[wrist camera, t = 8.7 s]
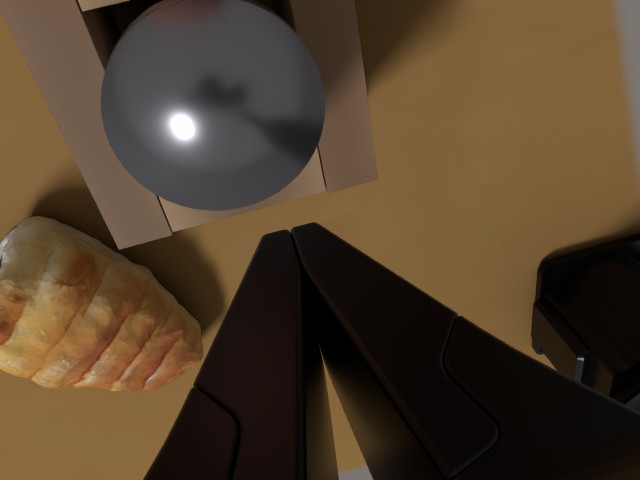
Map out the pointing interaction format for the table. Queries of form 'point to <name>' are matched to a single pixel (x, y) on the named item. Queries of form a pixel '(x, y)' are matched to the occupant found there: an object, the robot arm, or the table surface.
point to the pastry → (87, 314)
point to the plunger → (212, 102)
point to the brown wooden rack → (87, 126)
